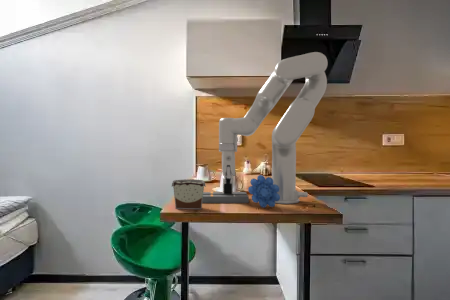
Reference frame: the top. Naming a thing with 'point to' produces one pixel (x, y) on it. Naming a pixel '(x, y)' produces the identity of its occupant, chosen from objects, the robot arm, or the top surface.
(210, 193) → the fader base
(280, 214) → the top surface
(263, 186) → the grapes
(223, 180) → the fader tab
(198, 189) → the food container
